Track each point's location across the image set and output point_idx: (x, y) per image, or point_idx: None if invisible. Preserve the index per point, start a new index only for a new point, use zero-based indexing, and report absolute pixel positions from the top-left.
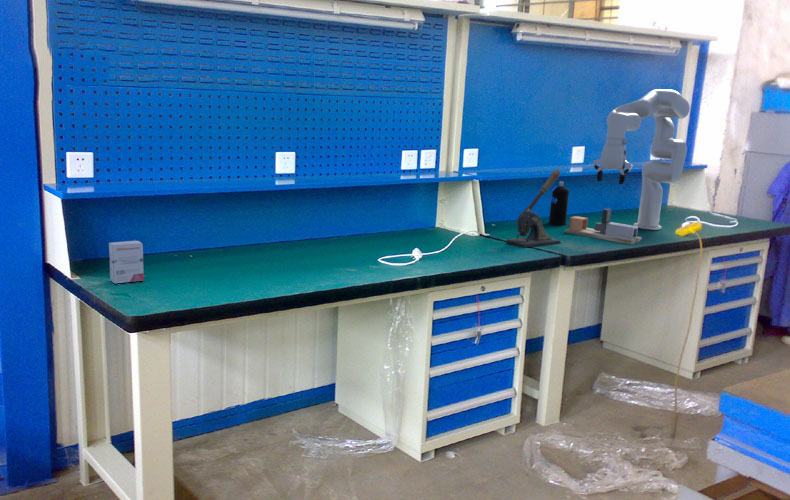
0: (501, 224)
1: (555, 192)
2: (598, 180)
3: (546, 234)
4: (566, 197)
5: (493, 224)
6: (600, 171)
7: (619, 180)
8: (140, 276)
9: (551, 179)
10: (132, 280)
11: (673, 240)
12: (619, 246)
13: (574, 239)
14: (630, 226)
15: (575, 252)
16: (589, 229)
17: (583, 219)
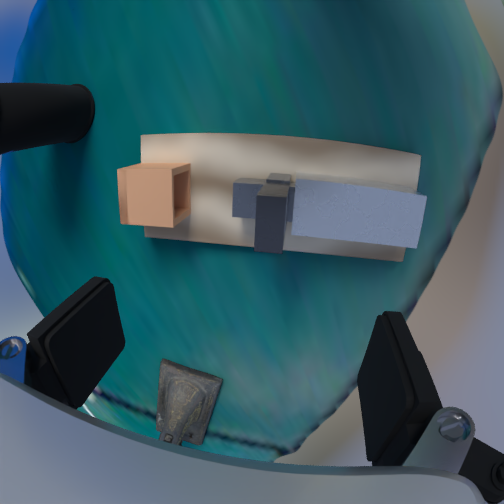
0: (25, 262)
1: None
2: (118, 349)
3: (194, 411)
4: (14, 121)
5: (22, 276)
6: (59, 400)
7: (363, 407)
8: None
9: None
10: None
11: (484, 67)
12: (371, 312)
13: (224, 315)
14: (400, 224)
15: (290, 427)
16: (202, 162)
17: (173, 217)
